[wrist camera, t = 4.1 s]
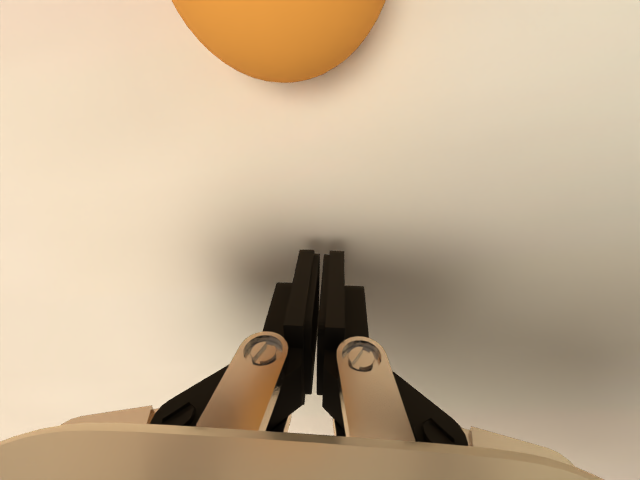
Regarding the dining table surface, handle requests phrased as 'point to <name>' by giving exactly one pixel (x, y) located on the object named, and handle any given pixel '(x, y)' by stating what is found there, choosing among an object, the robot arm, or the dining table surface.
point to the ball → (280, 33)
